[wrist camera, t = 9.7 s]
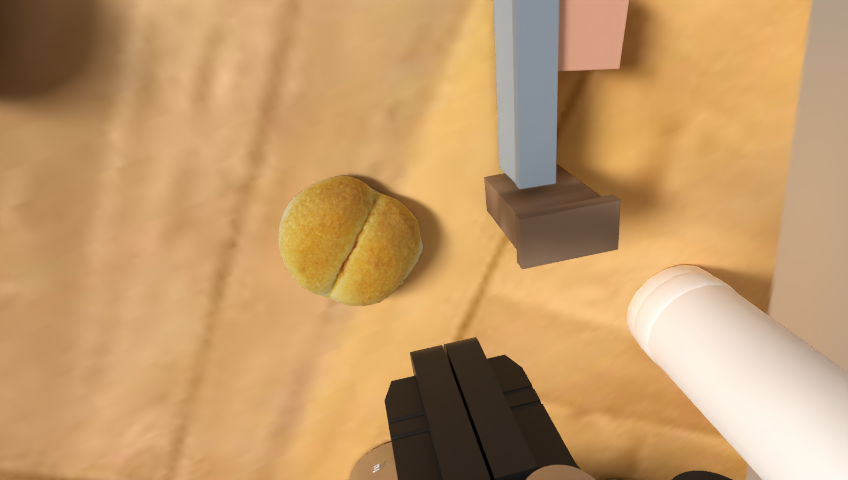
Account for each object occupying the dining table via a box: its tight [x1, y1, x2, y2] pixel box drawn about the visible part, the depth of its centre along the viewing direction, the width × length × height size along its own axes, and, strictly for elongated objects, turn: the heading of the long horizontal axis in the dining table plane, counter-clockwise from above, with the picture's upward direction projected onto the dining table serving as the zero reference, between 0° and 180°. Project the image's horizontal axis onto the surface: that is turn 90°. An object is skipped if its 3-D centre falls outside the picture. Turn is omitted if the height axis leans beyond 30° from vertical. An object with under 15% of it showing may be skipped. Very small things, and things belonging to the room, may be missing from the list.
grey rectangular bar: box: [494, 0, 559, 189], centre depth 28 cm, size 14×2×4 cm, turn 6°
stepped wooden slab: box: [484, 164, 620, 269], centre depth 31 cm, size 3×6×8 cm, turn 98°
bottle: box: [626, 265, 848, 480], centre depth 28 cm, size 8×8×30 cm
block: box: [558, 0, 629, 71], centre depth 29 cm, size 4×4×4 cm
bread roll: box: [279, 176, 423, 306], centre depth 32 cm, size 8×9×4 cm
